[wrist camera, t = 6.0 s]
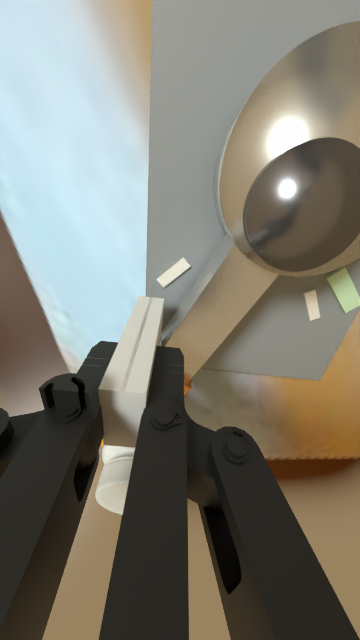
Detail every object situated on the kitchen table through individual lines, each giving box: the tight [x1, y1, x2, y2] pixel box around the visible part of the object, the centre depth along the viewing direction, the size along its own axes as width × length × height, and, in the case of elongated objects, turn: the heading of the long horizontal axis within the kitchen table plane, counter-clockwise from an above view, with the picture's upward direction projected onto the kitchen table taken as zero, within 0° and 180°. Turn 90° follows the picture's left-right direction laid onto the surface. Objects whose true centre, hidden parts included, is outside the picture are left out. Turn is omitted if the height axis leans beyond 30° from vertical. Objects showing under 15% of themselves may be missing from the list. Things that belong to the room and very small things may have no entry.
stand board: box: [146, 0, 360, 380], centre depth 13 cm, size 18×14×2 cm
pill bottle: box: [96, 445, 135, 515], centre depth 16 cm, size 5×5×8 cm
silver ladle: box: [160, 21, 360, 396], centre depth 11 cm, size 16×7×4 cm, turn 150°
